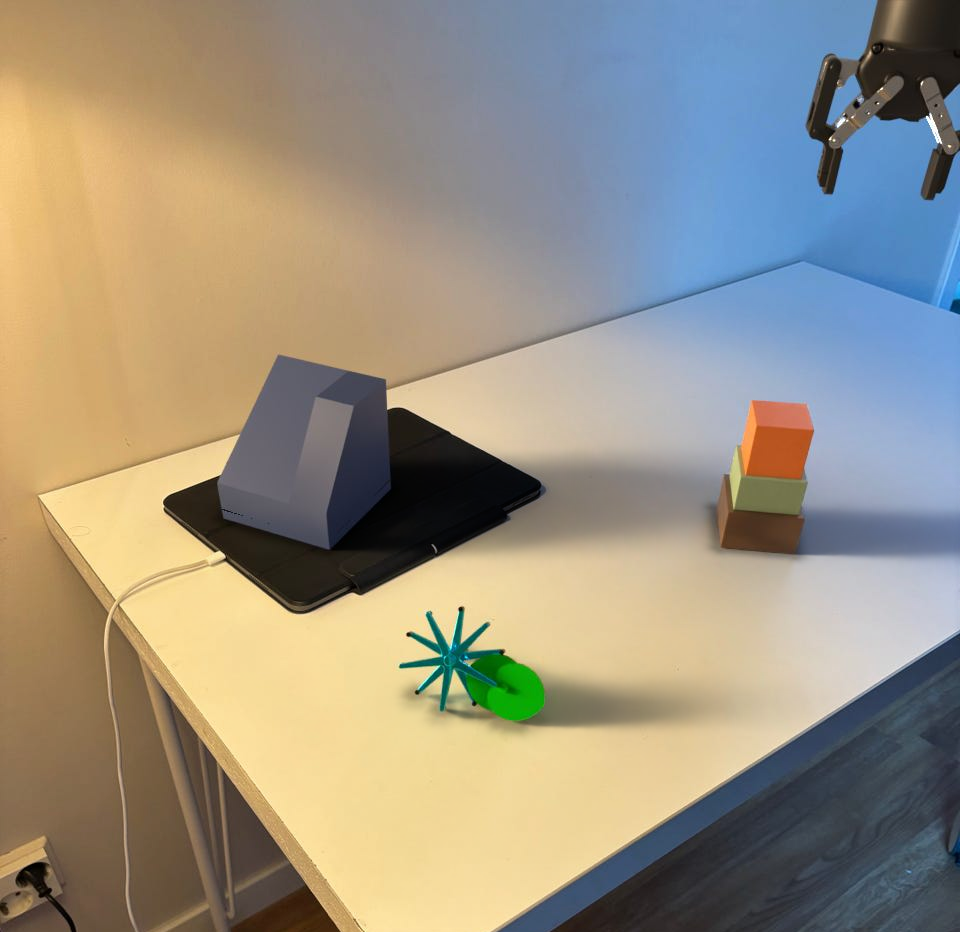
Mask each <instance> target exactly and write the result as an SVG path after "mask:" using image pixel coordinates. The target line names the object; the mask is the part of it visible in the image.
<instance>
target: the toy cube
mask: <svg viewBox="0 0 960 932" xmlns="http://www.w3.org/2000/svg"><path fill="white" fill-rule="evenodd" d="M814 433H815V428H814V425H813V421H812V417H811V413H810V410H809V405H808V403H799V402H798V403H796V402H786V401H771V400H759V399H751V401H750V405H749V411H748V415H747V419H746V424H745V428H744V433H743V438H742V443H741V446H742V447H741V449H742V456H743V462H744V469H745V475H751V476H764V477H776V478H789V479H801V478H802V474H803V471H804V469H805V467H806V462H807V459H808V455H809V452H810V448H811V443H812V441H813V438H814V437H813V436H814Z"/></svg>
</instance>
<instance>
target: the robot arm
mask: <svg viewBox="0 0 960 932" xmlns="http://www.w3.org/2000/svg"><path fill="white" fill-rule="evenodd" d="M852 76H855V79H856V82H857V84H858V87H859V89H860V92H858V94H857V96H855V98H854V99H852V100H851V102H850V103H849V104H848V105H847V106H846V107H845V108H844V111H843V112H842V113H841V114H840V115H839V116H838V118H836V120H835V121H834V122H833V123H831V124H830V123H827V122H828V118H829V115H830V112H831V107H832V104H833V100H834V96H835V93H836V90H840V89H841V88H843V87H844V86H845V85H846V83H847V81H848V79H849V78H851V77H852ZM959 86H960V0H876V4H875V9H874V13H873V17H872V21H871V26H870V30H869V33H868V39H867V42H866V46H865V49H864V51H863V53H862V54H861V56H860V57H859V58H858V59H852V58H843V57H838V56H837V54H835V53H827V54H826V55H825V56H823V58H822V61H821V65H820V68H819V72H818V76H817V80H816V84H815V88H814V91H813V95H812V98H811V102H810V107H809V109H808V114H807V117H806V122H805V124H804V125H805V130H806V132H807V134H808V136H809V138H810V139H812V140H816V141H818V142H820V143H822V150H821V155H820V158H819V164H818V167H817V168H818V169H817V173H816V180H817V181H816V182H817V184H818V186H819V187H820V188H821V191H822V193H823V195H827V196H828V195H829V196H830V195H831V196H833V194H834V192H835V188H836V184H837V180H838V176H839V171H840V167H841V162H842V160H843V159H842V158H843V154H844V149H843V145H844V144H845V143H846V142H847V141H848V140H849V139H850V138H851V137H852V136H853V135H854V134H855V133H856V132H857V131H858V130H860V129H862V128H863V127H864V126H865V125H866V124H867V123H868V122H869V121H870V120H871V119H872V118H873V117H875V118H877V119H879V121H886V122H891V121H895V120H899V119H901V120H903V121H906V122H909V123H911V122H912V123H919V122H920V121H921V120H923V119H927V121H928V123H929V125H930V128H931V129H932V133H933V135H934V136H935V139H936V142H937V146H936V148H932V150H931V154H930V157H929V161H928V164H927V167H926V171H925V175H924V178H923V182H922V185H921V187H920V196H921V198H922V199H923V201H934V200H935V198H936V194H941V193H942V192H943V191H944V190H945V188H946V184H947V181H948V179H949V175H950V172H951V168H952V165H953V162H954V159H955V156H956V155H957V154H958V153H959V152H960V129H957V130H955V128H954V126H953V120H952V118H951V115H950V113H949V111H948V108H947V105H946V103H945V100H946V99H947V98H948V97H949V95H951V94H952V93H953V91H955V89H957V88H958V87H959Z"/></svg>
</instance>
